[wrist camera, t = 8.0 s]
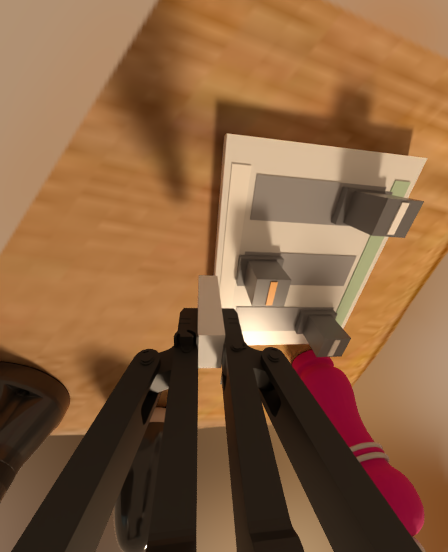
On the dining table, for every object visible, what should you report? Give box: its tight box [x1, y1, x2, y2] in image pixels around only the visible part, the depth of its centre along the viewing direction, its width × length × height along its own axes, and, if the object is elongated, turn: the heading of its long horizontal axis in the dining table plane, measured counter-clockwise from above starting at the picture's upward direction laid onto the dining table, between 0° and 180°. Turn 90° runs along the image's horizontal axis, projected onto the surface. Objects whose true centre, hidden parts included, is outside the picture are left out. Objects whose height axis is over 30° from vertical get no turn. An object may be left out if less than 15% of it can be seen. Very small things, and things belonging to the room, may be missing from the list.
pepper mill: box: [292, 350, 425, 552], centre depth 26 cm, size 7×7×20 cm
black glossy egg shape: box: [113, 407, 166, 552], centre depth 31 cm, size 10×10×15 cm
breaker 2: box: [331, 187, 424, 238], centre depth 18 cm, size 4×3×5 cm
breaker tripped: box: [236, 255, 292, 307], centre depth 20 cm, size 4×3×5 cm
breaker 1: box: [294, 310, 351, 357], centre depth 25 cm, size 4×3×5 cm
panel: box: [213, 133, 427, 345], centre depth 24 cm, size 18×23×2 cm
